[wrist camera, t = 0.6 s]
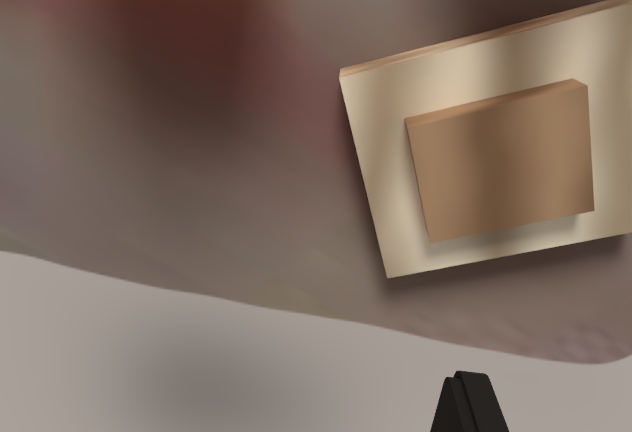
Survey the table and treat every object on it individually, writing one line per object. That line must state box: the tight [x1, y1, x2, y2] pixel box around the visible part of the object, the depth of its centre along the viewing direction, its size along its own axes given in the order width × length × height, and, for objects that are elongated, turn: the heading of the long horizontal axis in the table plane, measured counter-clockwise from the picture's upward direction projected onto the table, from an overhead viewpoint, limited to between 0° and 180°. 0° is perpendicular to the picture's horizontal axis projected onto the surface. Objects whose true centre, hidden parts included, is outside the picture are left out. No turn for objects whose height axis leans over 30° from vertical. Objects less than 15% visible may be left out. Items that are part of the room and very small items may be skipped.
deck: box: [339, 0, 632, 278], centre depth 31 cm, size 16×13×3 cm
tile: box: [404, 78, 595, 243], centre depth 29 cm, size 9×7×2 cm
